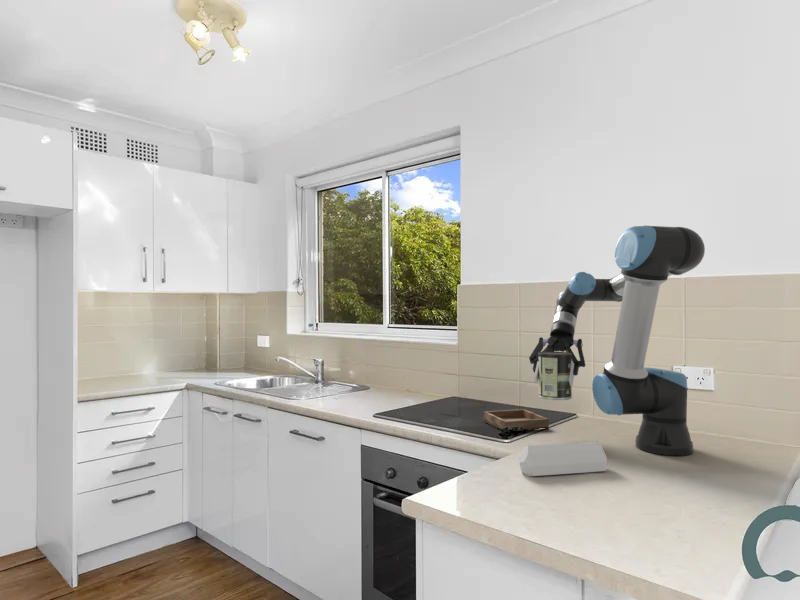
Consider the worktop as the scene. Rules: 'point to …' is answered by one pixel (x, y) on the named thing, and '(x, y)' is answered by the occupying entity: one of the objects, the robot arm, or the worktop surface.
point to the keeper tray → (515, 419)
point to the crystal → (562, 458)
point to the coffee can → (555, 375)
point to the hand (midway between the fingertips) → (552, 381)
